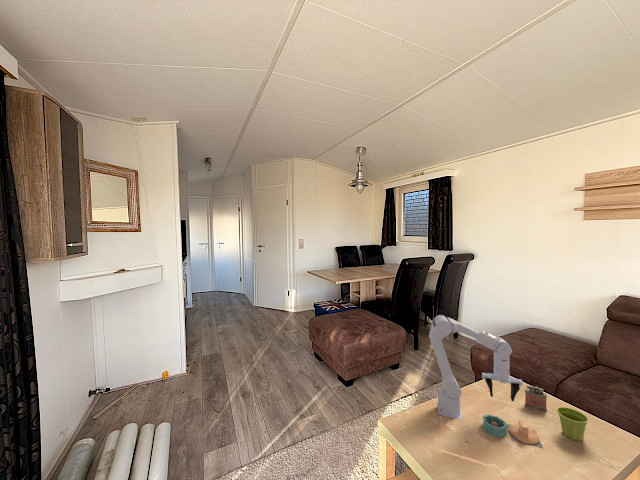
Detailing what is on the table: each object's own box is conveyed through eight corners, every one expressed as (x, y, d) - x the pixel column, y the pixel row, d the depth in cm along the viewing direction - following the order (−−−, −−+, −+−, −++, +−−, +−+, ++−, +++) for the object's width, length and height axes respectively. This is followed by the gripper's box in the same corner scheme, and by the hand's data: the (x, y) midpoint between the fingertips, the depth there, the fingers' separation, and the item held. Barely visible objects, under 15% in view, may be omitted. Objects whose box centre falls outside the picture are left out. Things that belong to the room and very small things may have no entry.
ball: (491, 430, 108) (490, 423, 108) (489, 426, 111) (489, 419, 111) (499, 433, 107) (499, 425, 107) (498, 428, 110) (498, 421, 110)
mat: (511, 441, 103) (511, 440, 103) (506, 425, 112) (506, 423, 112) (543, 450, 99) (543, 448, 99) (535, 432, 108) (535, 430, 108)
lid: (511, 439, 103) (511, 427, 103) (506, 423, 112) (506, 412, 112) (542, 447, 99) (542, 435, 99) (534, 430, 108) (534, 419, 108)
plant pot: (563, 441, 103) (563, 419, 103) (552, 424, 112) (552, 404, 112) (594, 447, 100) (594, 424, 100) (580, 430, 109) (580, 409, 109)
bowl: (484, 434, 107) (484, 424, 107) (482, 422, 114) (482, 412, 114) (508, 440, 104) (508, 430, 104) (504, 427, 111) (504, 418, 111)
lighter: (546, 408, 122) (546, 387, 122) (547, 413, 119) (547, 391, 119) (524, 403, 127) (524, 382, 127) (525, 407, 124) (525, 386, 124)
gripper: (483, 368, 115) (483, 398, 115) (524, 375, 108) (524, 407, 109) (481, 361, 121) (481, 390, 121) (519, 367, 115) (520, 397, 115)
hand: (501, 397), depth 115 cm, fingers open, 7 cm apart
